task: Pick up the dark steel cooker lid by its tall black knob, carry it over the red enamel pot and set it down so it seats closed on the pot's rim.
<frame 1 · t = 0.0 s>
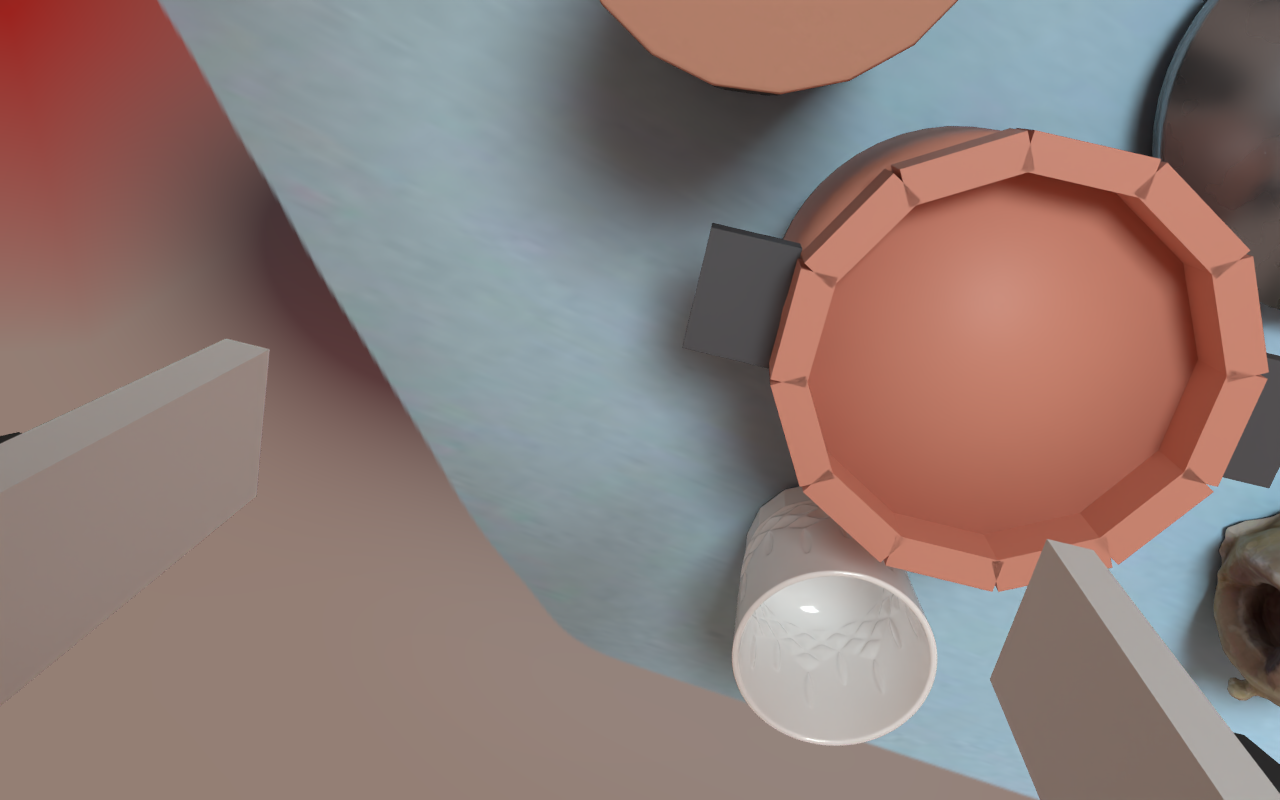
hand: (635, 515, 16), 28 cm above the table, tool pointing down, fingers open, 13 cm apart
garlic bulb: (1273, 576, 44), on the table
white cup: (815, 543, 46), on the table
pot: (939, 301, 42), on the table
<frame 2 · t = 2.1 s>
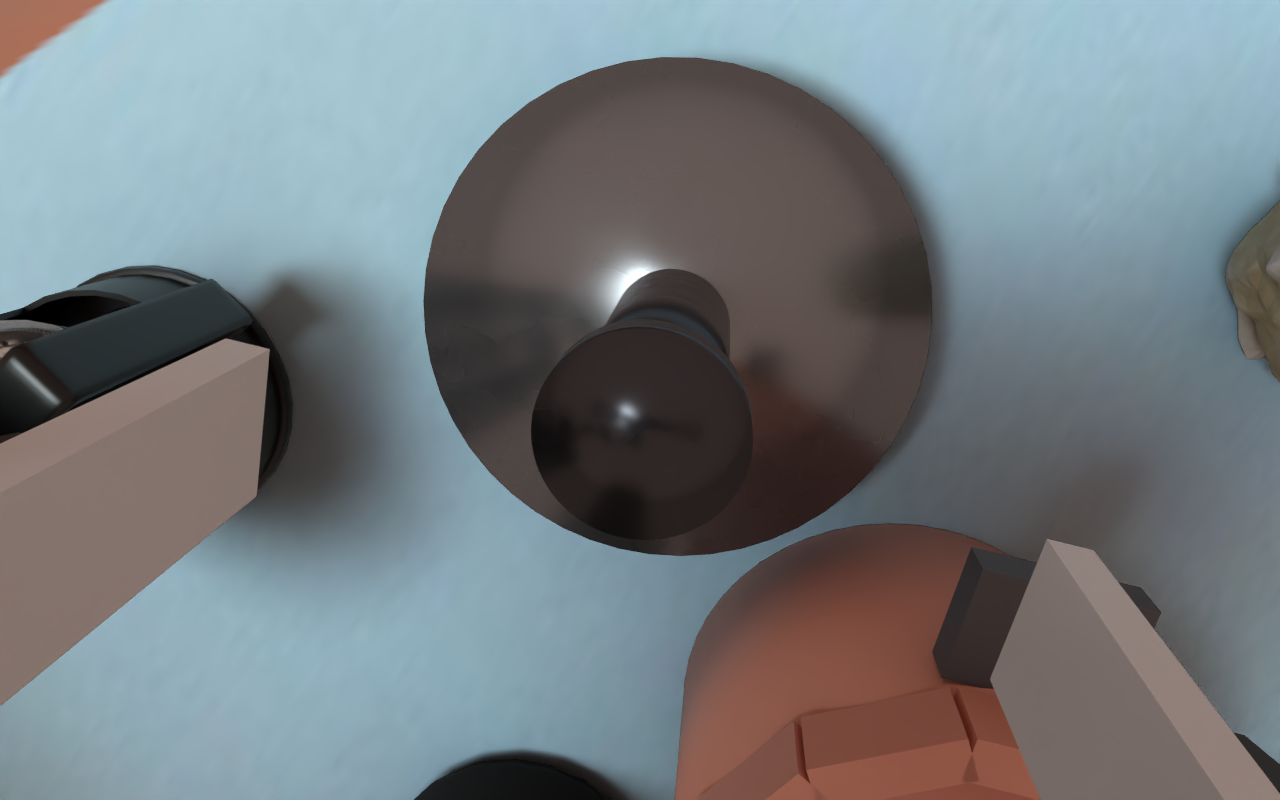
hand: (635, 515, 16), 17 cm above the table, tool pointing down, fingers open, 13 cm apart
lid: (676, 307, 31), on the table
french press: (180, 383, 34), on the table
pot: (883, 705, 35), on the table
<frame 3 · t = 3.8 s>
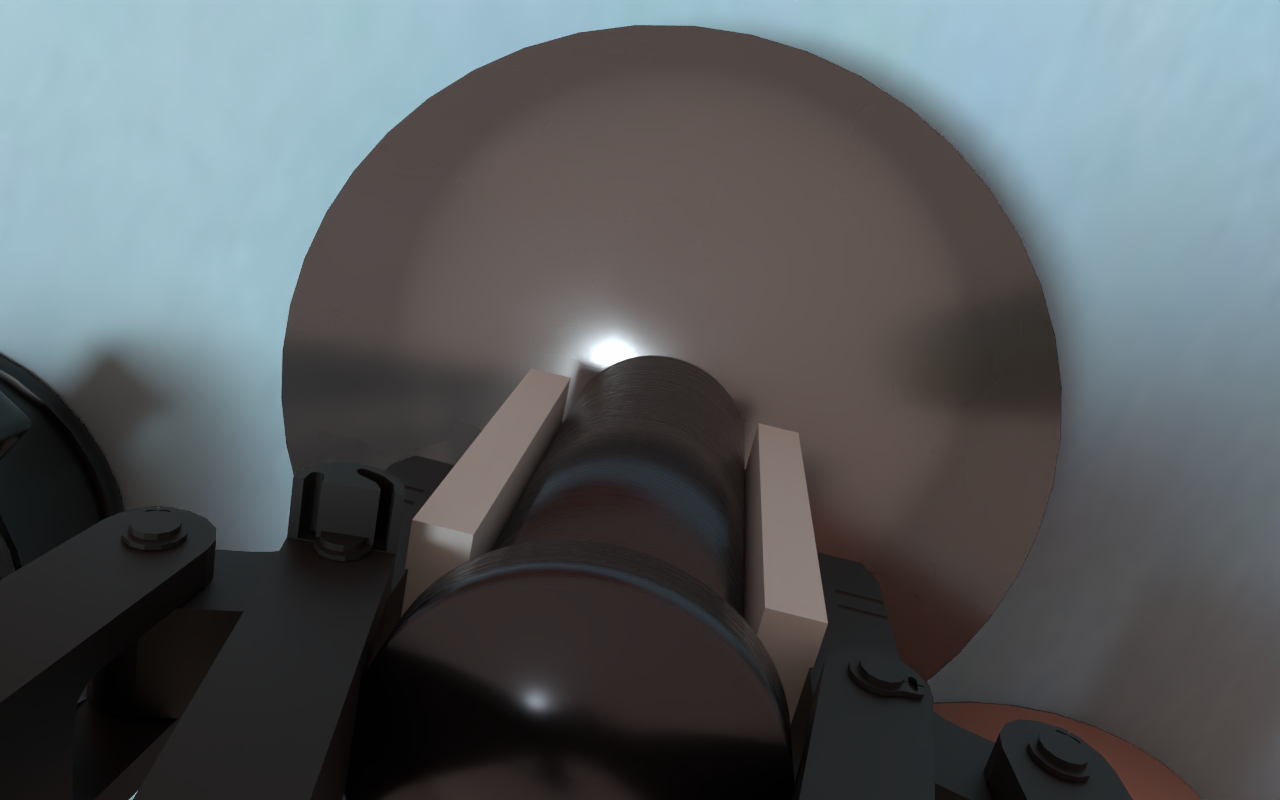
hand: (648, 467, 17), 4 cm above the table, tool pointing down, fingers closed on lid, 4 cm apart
lid: (665, 399, 21), on the table, touching gripper
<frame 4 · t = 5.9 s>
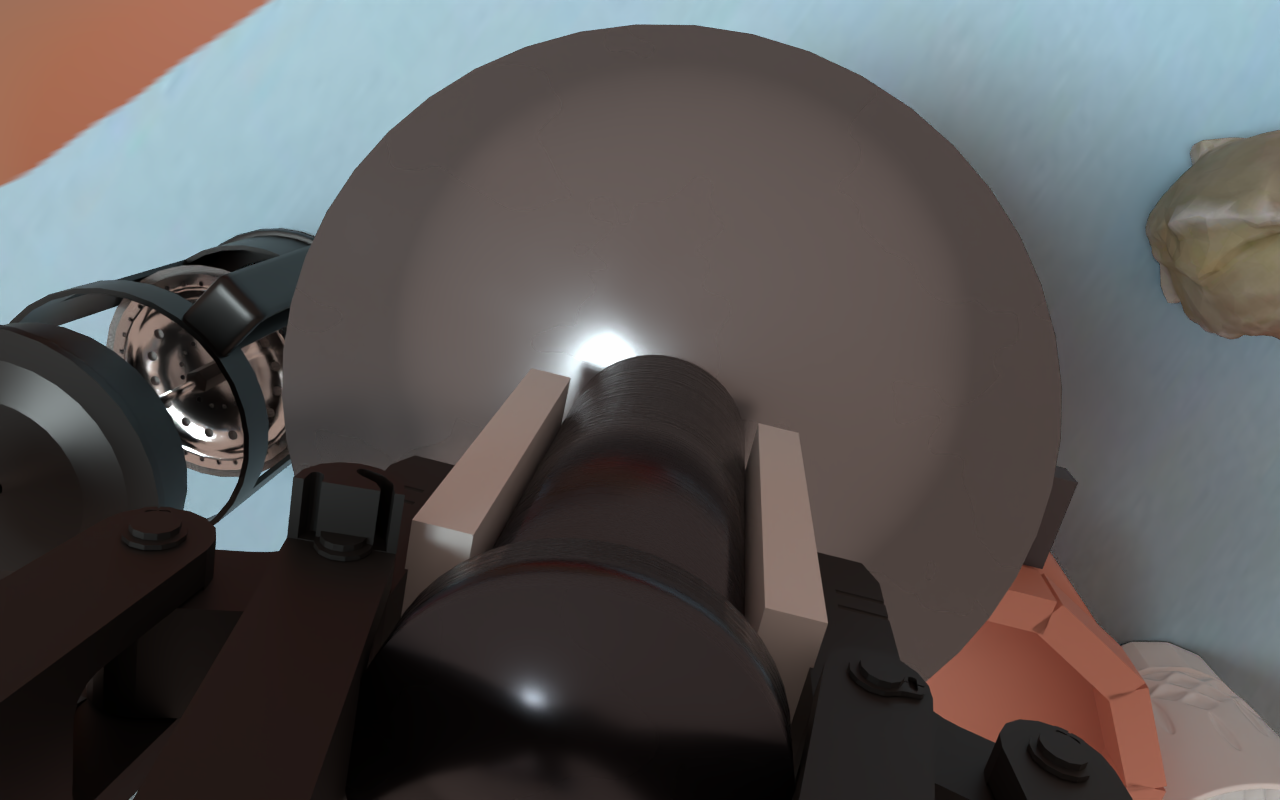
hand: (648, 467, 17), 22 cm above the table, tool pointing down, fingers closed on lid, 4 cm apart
garlic bulb: (1246, 231, 36), on the table
white cup: (1139, 700, 43), on the table
lid: (666, 398, 21), point 18 cm above the table, touching gripper
french press: (298, 325, 42), on the table
pot: (874, 596, 42), on the table
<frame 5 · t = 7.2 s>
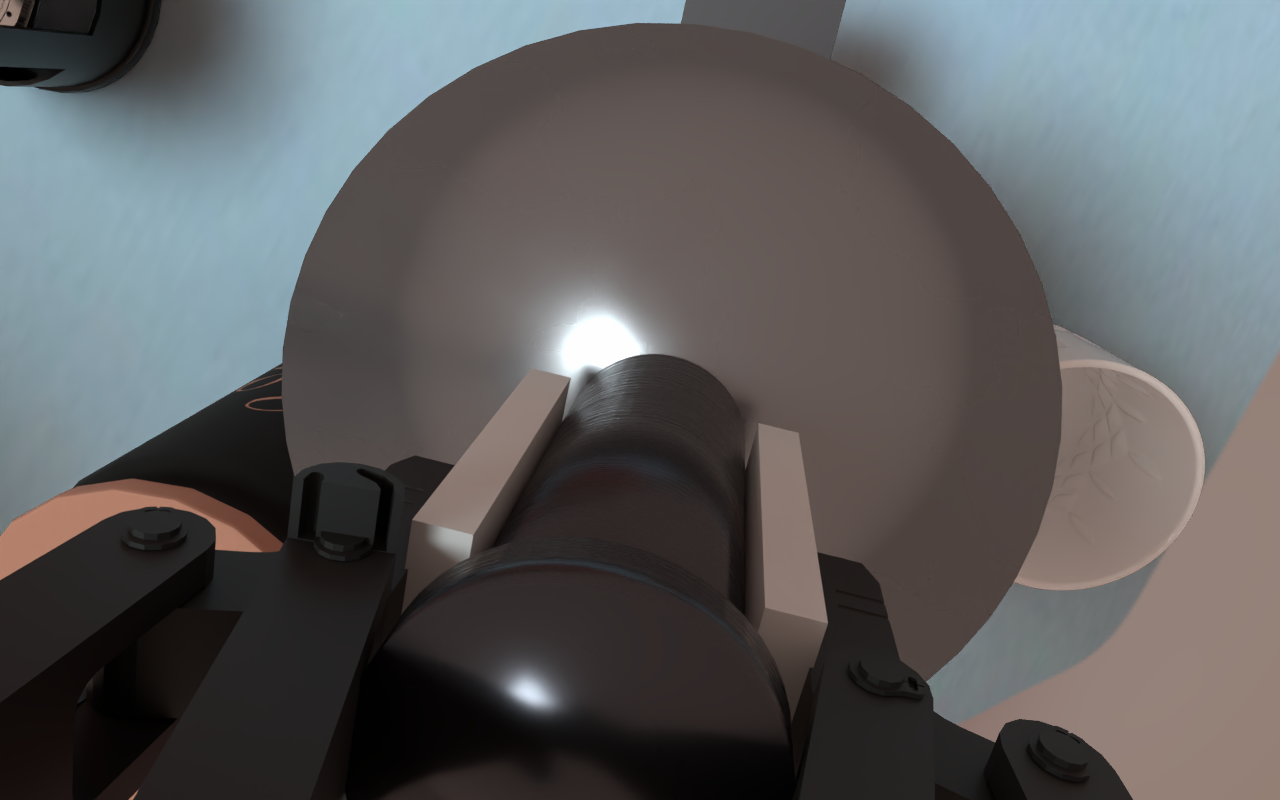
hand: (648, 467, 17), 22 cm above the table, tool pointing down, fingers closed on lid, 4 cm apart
white cup: (991, 385, 39), on the table
lid: (666, 397, 21), point 18 cm above the table, touching gripper
coffee jar: (389, 437, 43), on the table
pot: (700, 267, 39), on the table
when the fingers open (16 cm above the table, at t = 8.2 s): lid moves 1 cm, point 11 cm above the table.
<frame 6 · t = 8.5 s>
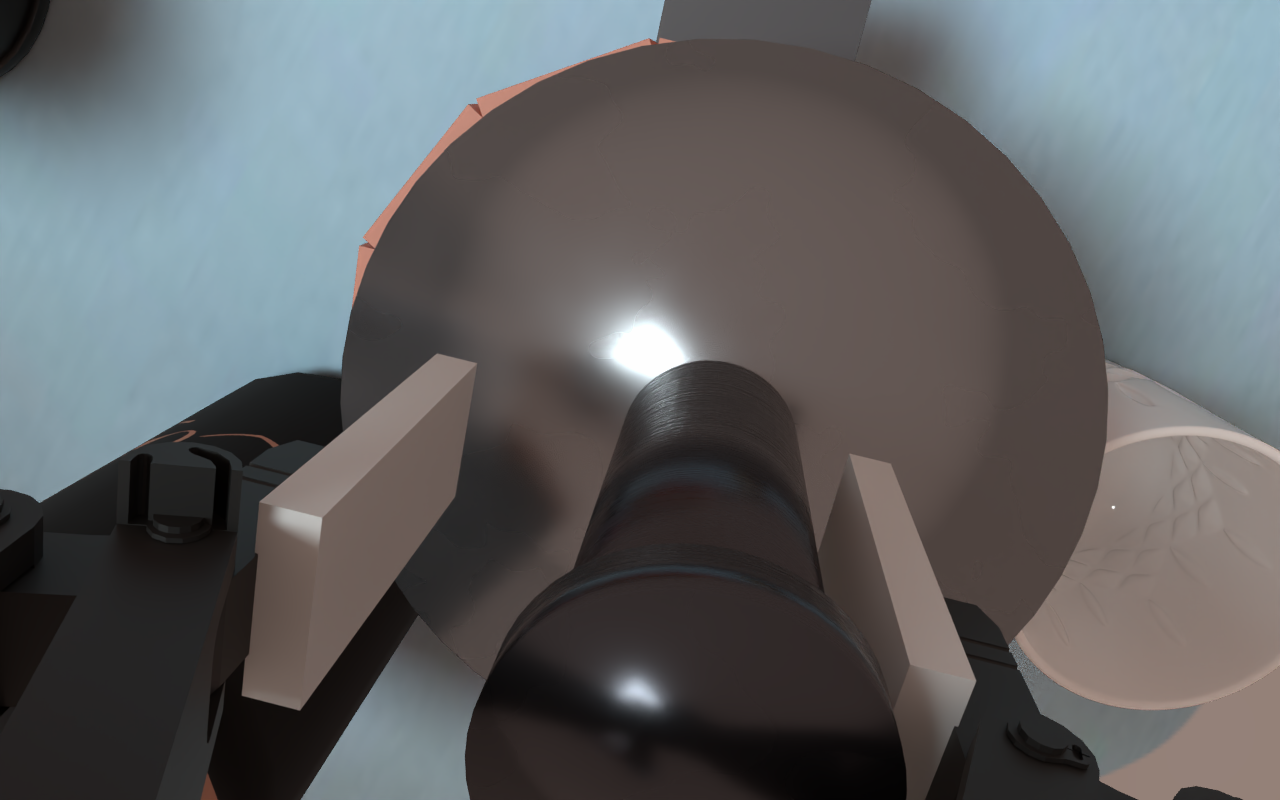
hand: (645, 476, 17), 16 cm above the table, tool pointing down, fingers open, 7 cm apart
white cup: (1043, 435, 33), on the table
lid: (712, 402, 22), point 11 cm above the table, touching gripper
coffee jar: (334, 492, 37), on the table
pot: (696, 296, 32), on the table
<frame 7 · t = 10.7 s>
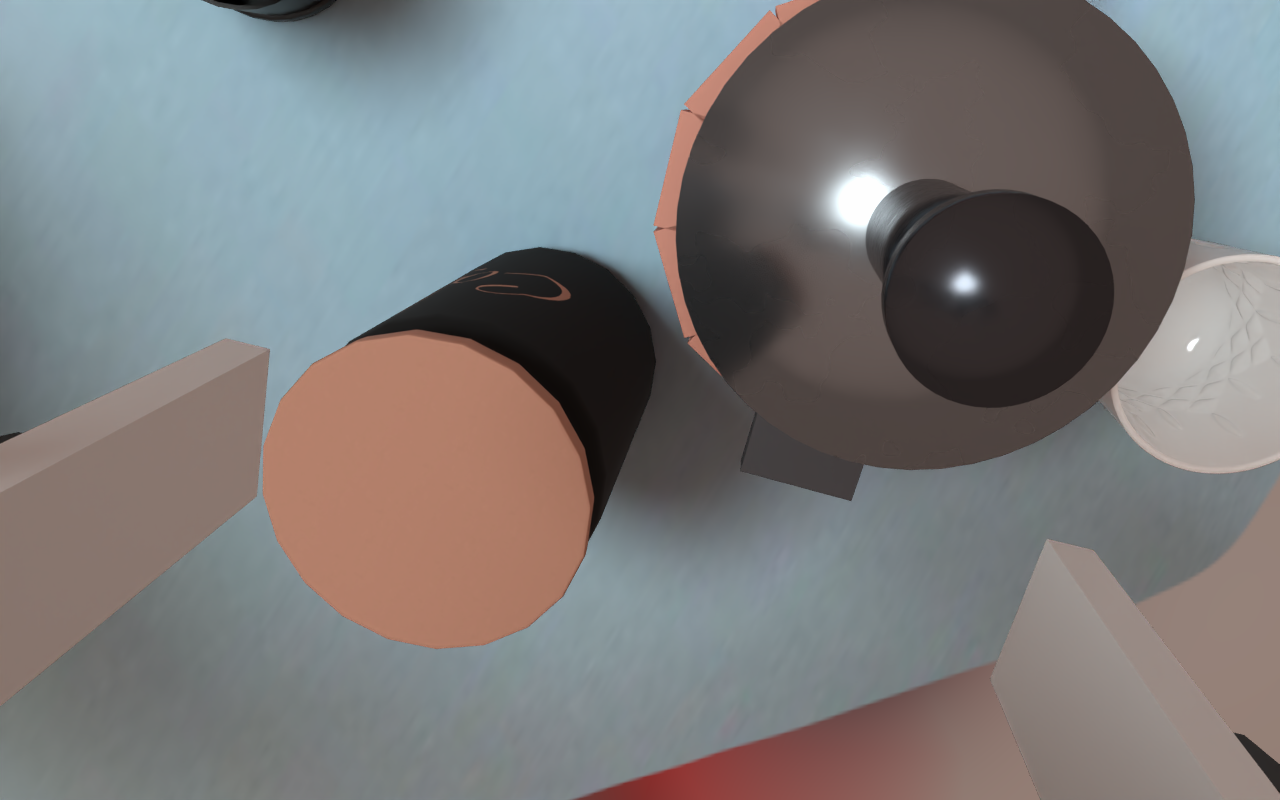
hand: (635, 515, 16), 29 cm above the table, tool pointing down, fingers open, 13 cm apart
white cup: (1126, 306, 42), on the table
lid: (911, 226, 32), point 10 cm above the table, touching pot
coffee jar: (551, 351, 46), on the table
pot: (857, 190, 42), on the table
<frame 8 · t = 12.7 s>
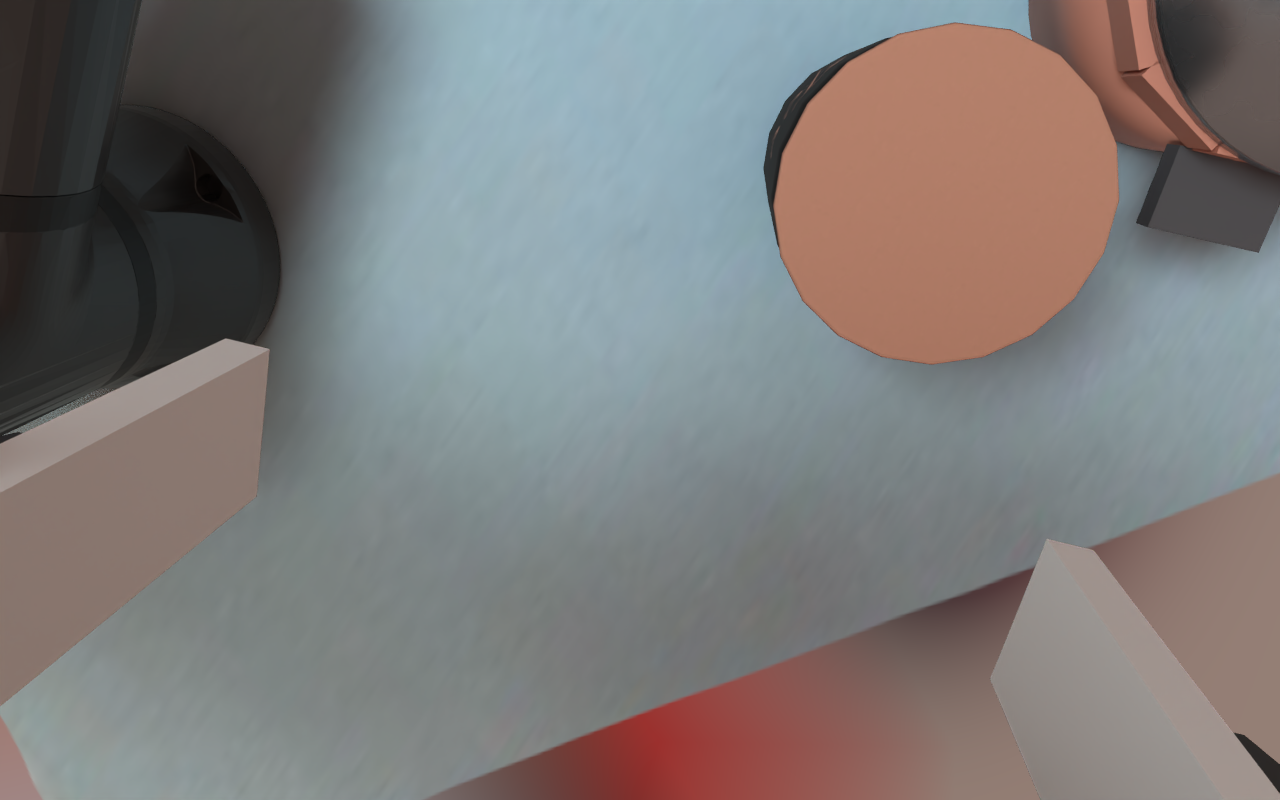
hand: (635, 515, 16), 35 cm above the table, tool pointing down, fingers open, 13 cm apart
coffee jar: (870, 163, 47), on the table
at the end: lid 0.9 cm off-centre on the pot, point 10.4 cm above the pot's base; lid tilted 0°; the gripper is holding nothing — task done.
